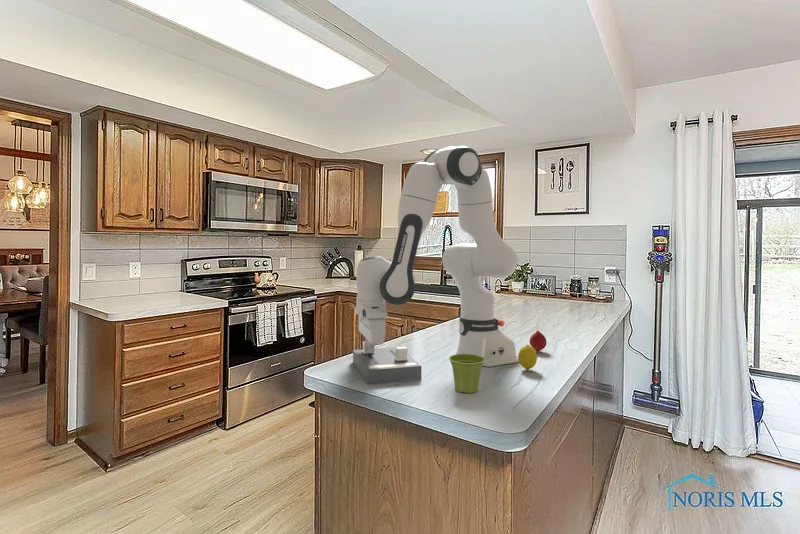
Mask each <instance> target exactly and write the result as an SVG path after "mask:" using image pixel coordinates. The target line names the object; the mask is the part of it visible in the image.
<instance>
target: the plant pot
mask: <svg viewBox="0 0 800 534" xmlns="http://www.w3.org/2000/svg"><path fill="white" fill-rule="evenodd" d="M448 359H449V361H450V364H451V367H452V374H453V375H452V376H453V382H454V389H455V391H457V392H458V393H465V394H474V393H476V392H477V391H478V390H479V385H480V378H481V372H482V371H481V370H482V367H483V366H482V365H483V362H484V361H485V359H484V358H483V357H481V356H478V355H473V354H452V355H450V356H449V357H448Z"/></svg>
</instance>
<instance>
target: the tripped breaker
mask: <svg viewBox="0 0 800 534" xmlns="http://www.w3.org/2000/svg"><path fill="white" fill-rule="evenodd" d="M362 349H363V350H362V352H363V354H368V353H369V352H368V351H367V344H366V340H362ZM374 353H375V352H374Z"/></svg>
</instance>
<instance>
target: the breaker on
mask: <svg viewBox="0 0 800 534" xmlns="http://www.w3.org/2000/svg"><path fill="white" fill-rule="evenodd" d="M395 347H396V351H395V357H394V359H395V360H396V361H403V360H409V359H408V358H407V354H408V347H407V346H395Z"/></svg>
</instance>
